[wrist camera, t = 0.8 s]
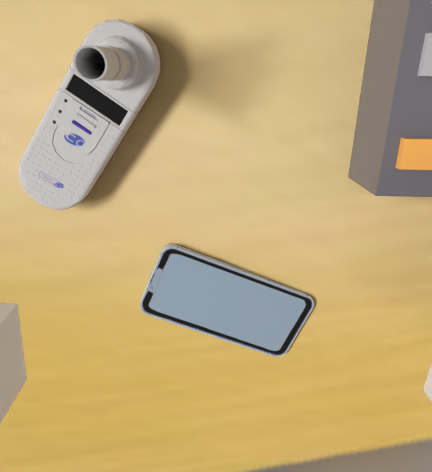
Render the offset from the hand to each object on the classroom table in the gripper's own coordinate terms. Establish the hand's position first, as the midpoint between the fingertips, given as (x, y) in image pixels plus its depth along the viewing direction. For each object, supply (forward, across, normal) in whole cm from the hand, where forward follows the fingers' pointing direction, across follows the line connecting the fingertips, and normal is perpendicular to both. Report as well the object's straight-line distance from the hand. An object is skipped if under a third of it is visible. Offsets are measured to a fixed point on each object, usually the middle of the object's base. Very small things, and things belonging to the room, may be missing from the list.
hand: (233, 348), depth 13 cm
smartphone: (+23, +2, -11) cm, 26 cm away
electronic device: (+23, -10, +4) cm, 25 cm away
